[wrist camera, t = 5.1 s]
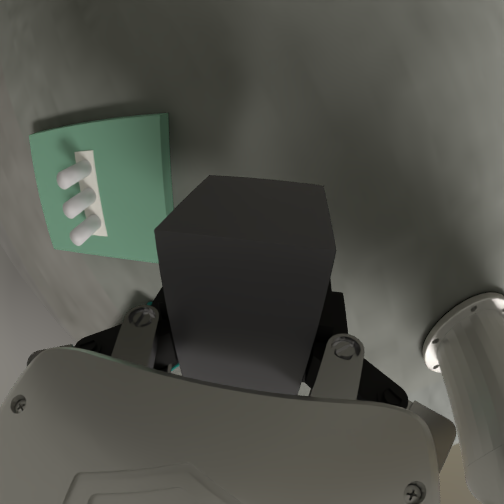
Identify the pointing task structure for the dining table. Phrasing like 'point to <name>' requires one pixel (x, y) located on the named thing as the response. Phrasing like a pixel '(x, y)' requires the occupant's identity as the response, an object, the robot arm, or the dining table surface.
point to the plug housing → (246, 279)
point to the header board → (105, 184)
